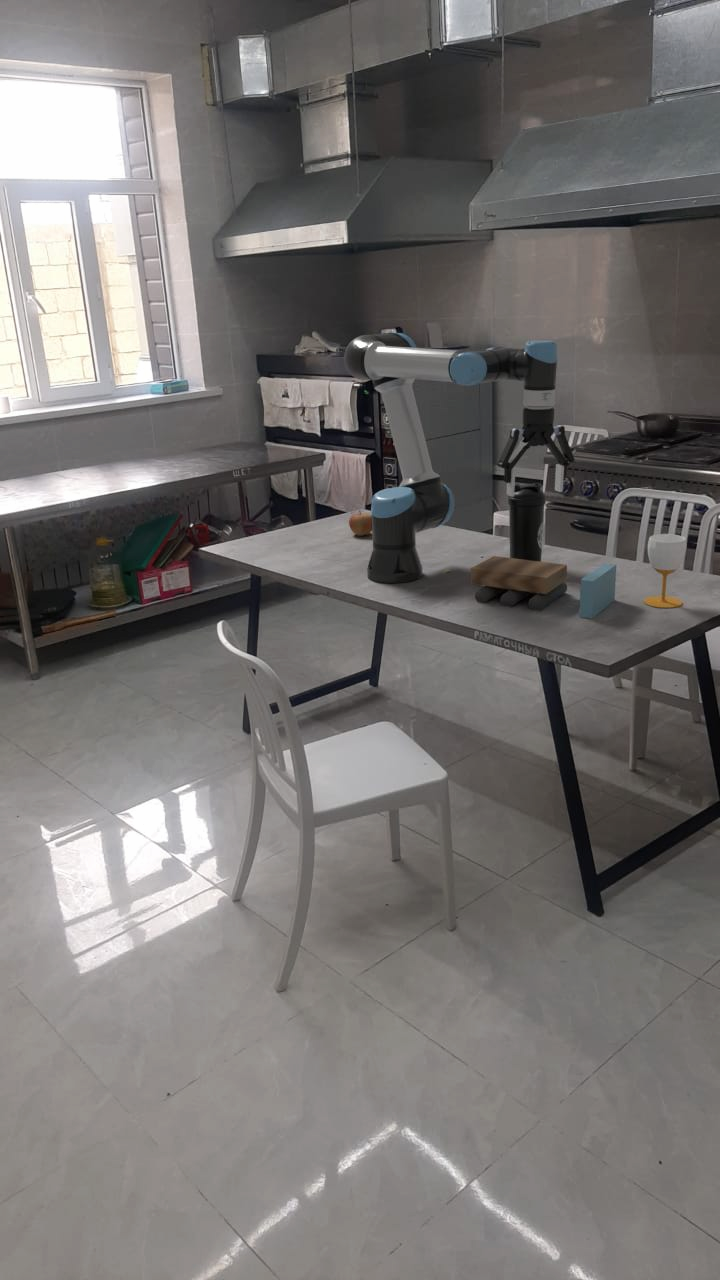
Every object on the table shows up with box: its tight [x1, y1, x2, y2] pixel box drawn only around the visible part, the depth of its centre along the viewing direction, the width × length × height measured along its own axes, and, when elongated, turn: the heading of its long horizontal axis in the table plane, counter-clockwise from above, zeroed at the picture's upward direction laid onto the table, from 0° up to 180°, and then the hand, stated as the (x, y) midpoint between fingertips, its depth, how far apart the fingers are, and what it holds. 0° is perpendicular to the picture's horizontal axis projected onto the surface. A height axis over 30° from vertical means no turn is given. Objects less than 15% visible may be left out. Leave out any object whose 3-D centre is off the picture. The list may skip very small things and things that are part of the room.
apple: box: [348, 510, 372, 537], centre depth 309 cm, size 8×8×8 cm
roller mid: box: [500, 589, 533, 607], centre depth 242 cm, size 16×4×4 cm, turn 147°
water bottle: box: [507, 482, 547, 562], centre depth 265 cm, size 10×10×23 cm
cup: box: [643, 533, 687, 609], centre depth 231 cm, size 9×9×16 cm
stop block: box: [578, 562, 617, 619], centre depth 230 cm, size 3×16×9 cm, turn 147°
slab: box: [470, 555, 568, 594], centre depth 241 cm, size 20×13×4 cm, turn 57°
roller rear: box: [474, 585, 507, 603], centre depth 246 cm, size 16×4×4 cm, turn 147°
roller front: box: [528, 581, 568, 612], centre depth 238 cm, size 16×4×4 cm
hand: (534, 493), depth 242 cm, fingers open, 13 cm apart
